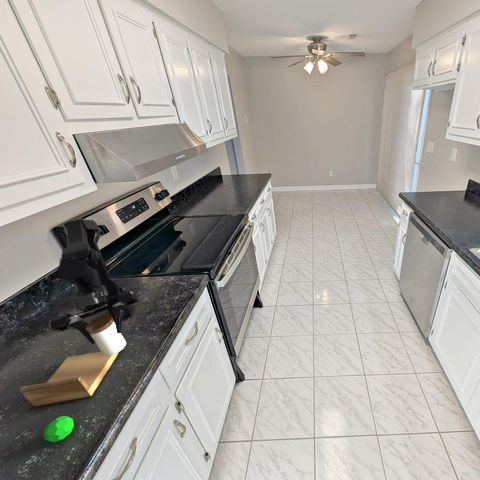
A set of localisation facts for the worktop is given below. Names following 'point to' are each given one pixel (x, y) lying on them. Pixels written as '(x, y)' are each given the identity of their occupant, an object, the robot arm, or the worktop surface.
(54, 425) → the polyhedron
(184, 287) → the worktop surface
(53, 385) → the wooden ramp
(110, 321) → the cylinder
